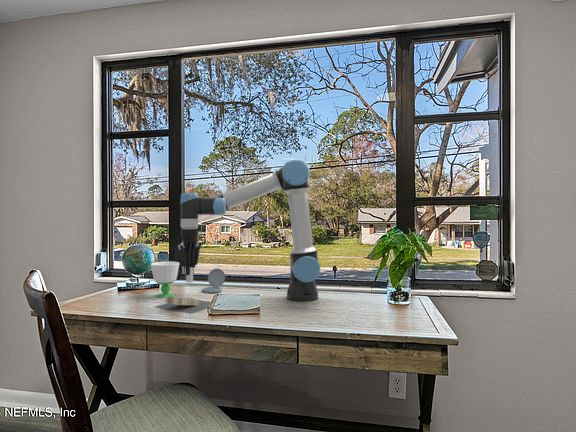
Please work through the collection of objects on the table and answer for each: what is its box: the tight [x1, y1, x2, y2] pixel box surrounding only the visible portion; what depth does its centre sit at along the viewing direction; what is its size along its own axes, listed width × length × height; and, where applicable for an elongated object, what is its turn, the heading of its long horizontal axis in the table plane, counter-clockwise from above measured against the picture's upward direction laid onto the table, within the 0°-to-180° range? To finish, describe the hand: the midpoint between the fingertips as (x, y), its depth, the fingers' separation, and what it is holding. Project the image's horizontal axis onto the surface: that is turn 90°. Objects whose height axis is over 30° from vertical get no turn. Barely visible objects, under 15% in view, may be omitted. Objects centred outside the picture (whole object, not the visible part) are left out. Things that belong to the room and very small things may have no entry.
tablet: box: [164, 296, 200, 306], centre depth 186 cm, size 8×3×12 cm
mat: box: [154, 299, 212, 315], centre depth 190 cm, size 22×20×1 cm
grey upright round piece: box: [201, 268, 226, 295], centre depth 222 cm, size 10×11×15 cm
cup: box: [150, 261, 180, 299], centre depth 212 cm, size 14×14×16 cm
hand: (189, 282), depth 190 cm, fingers closed
